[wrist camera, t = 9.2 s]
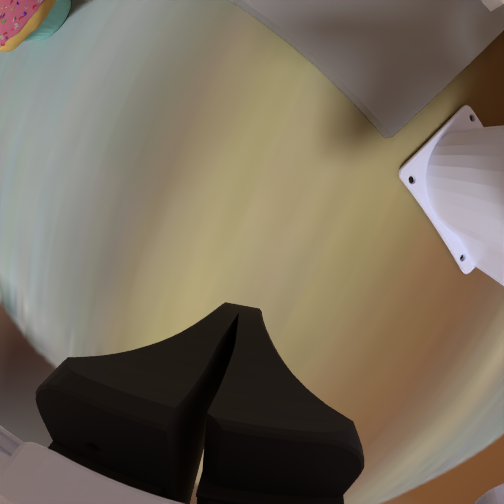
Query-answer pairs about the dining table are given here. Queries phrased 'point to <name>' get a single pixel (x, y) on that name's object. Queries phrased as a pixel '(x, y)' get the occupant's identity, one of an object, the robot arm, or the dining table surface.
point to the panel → (385, 46)
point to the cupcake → (30, 20)
